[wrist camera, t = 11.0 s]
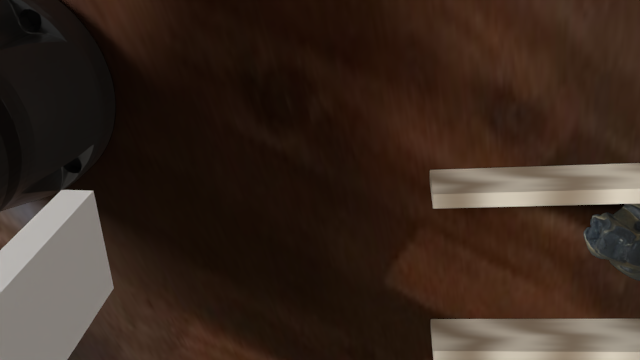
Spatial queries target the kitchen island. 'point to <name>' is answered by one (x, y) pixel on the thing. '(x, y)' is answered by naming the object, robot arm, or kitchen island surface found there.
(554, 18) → the kitchen island surface
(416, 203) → the kitchen island surface
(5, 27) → the robot arm
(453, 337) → the channel
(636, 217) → the stone
